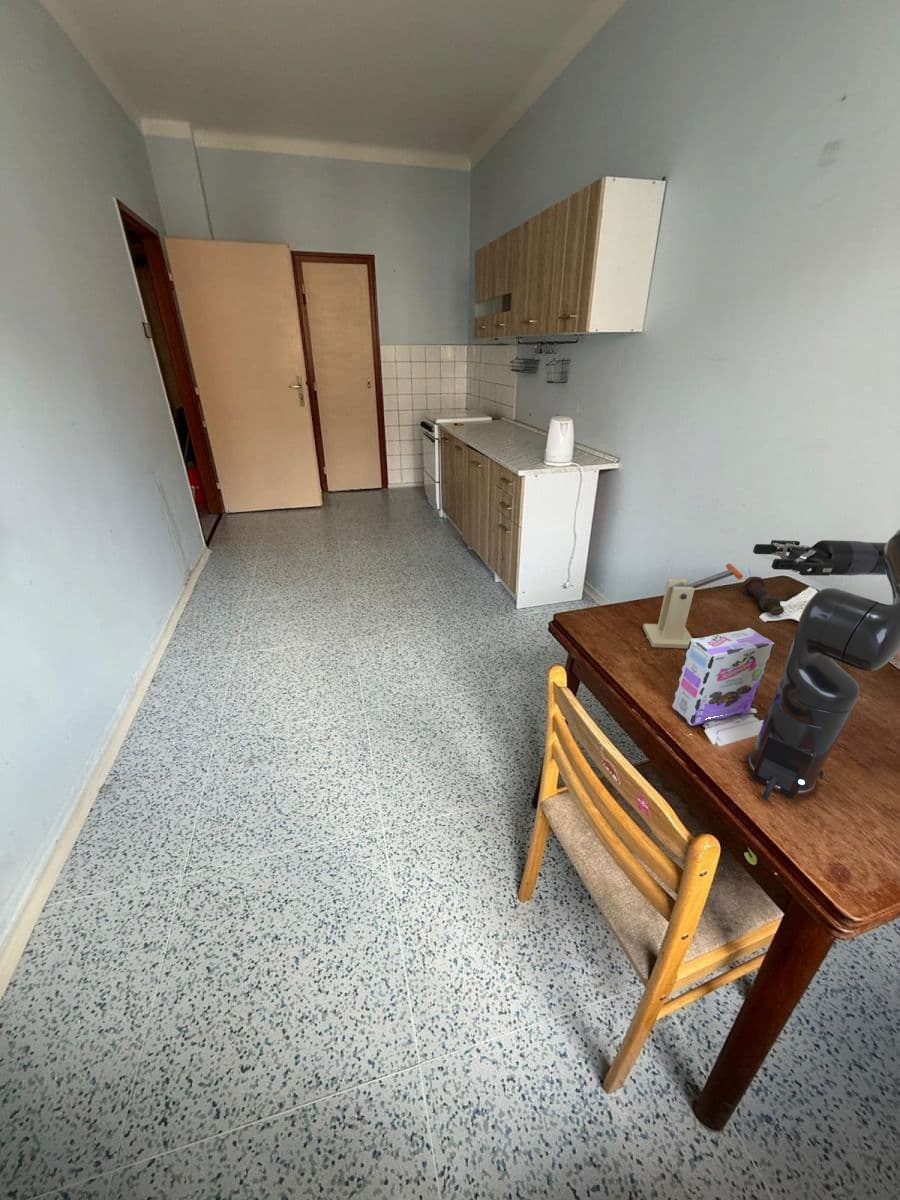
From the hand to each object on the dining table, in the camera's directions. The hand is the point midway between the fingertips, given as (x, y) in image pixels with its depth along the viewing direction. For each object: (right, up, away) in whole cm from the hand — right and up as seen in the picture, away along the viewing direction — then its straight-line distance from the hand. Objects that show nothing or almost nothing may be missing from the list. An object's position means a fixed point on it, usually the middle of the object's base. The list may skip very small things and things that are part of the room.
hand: (763, 556), depth 104 cm
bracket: (-16, -19, +12) cm, 27 cm away
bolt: (+16, -11, +26) cm, 33 cm away
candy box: (-18, -32, -11) cm, 38 cm away
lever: (-10, -6, +5) cm, 13 cm away
